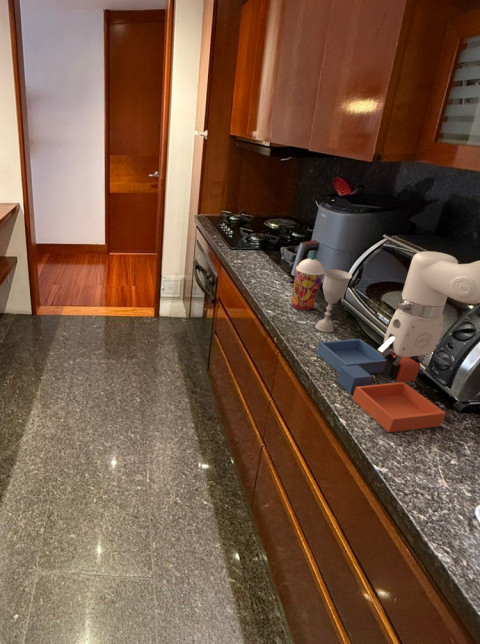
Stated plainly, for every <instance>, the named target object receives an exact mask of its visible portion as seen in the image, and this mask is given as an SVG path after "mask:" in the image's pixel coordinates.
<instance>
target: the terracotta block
mask: <svg viewBox="0 0 480 644" xmlns="http://www.w3.org/2000/svg"><path fill="white" fill-rule="evenodd" d="M392 356H393V357H394V358H395V357H396V354H393V355H392ZM385 363H386V362H385ZM398 365H399V366H400V368H399V372H398V375H397V378H396V380H395V381H396V383H398V382H405V383H407V382H415V381H416V380H417V377H418V375H419V372H420V368H421V363H420V364H419V363H417V362H416V361H414V360H412V359H411V358H409V357H402V359H401V360H400V362H399V364H398Z"/></svg>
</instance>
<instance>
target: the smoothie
mask: <svg viewBox="0 0 480 644" xmlns="http://www.w3.org/2000/svg"><path fill="white" fill-rule="evenodd" d="M315 255H316V251H315V250H312V254H311V258H305V259H303V260H301V261H300V262H299V263H298V265H296V266H295V272H294V273H295V274H294V280H293V287H292V288H293V289H292V296H291V303H292V307H293V308H295V309H298V310H301V311H309V310H311V309H312V308H313V307H314V306H315V305H316V304H315V303H316V301H317V297H318V294H319V291H320V287H321V285H322V282H323V278H324V276H325V273H324V271H325V269H324V266H323V264H322V263H321V262H320V261H319V260H317V259H315Z"/></svg>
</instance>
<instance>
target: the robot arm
mask: <svg viewBox="0 0 480 644" xmlns="http://www.w3.org/2000/svg"><path fill="white" fill-rule="evenodd" d="M448 298H450V299H452V300H454V301H457V302H460V303H463V304H471V305H472V304H480V260H476V261H473V262H470V263H459V261H458V259H457V258H456V257H455V256H453V255H450V254H447V253H443V252H439V251H429V250H428V251H427V250H426V251H419V252H416V253H415V254H414V255H413V256H412V259H411V262H410V265H409V269H408V272H407V276H406V278H405V282H404V286H403V289H402V292H401V296H400V300H399V303H398V304H397V309H396V310H395V312H394V314H393V315H392V317H391V320H390V322H389V324H388V327H387V329H386V332H385V335H384V339H383V344H381V346H380V347H378V349H377V351H378V352H379V353H380V354H381V355H383V357H384V359H386V363H385V366H384V369H383V372H382V373H383V374H384V376H387V378H389V379H390V380H392V381H396V378H397V375H398V372H399V368H400V366H399V365H398V364H399V362H400V360H401V359H402V357H409V358H411V359H412V360H414V361H416V362H417V363H419V364H420V365H421V364H423V363H422V361H423V360H424V361H425V358H426V357H425V355H428V356H429V355H432V352H433V351H434V349H435V347H436V345H437V344H438V342H439V343H440V341H441V338H442V334H443V333H442V332H443V327H444V314H443V312H444V308H445V306H446V303H447V299H448ZM439 340H440V341H439ZM392 355H396V357H395V358H394V357H393V356H392ZM424 357H425V358H424Z"/></svg>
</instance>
